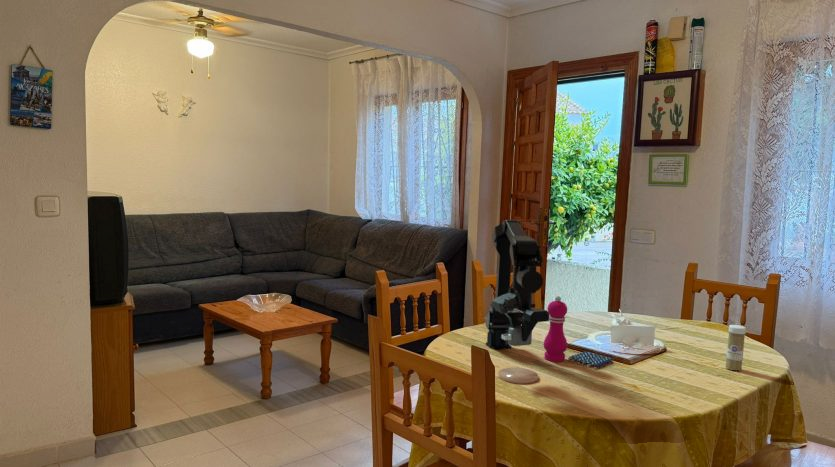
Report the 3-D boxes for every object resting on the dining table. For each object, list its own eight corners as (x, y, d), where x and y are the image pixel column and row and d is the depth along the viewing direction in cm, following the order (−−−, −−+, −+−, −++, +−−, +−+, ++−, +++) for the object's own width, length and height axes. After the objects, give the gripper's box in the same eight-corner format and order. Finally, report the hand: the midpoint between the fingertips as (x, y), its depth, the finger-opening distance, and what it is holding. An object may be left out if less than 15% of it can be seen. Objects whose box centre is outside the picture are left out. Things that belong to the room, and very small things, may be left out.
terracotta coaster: (523, 368, 176) (523, 365, 176) (545, 381, 166) (545, 378, 166) (491, 372, 171) (491, 369, 171) (512, 385, 162) (512, 382, 161)
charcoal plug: (526, 340, 171) (526, 324, 170) (534, 344, 167) (535, 328, 167) (499, 343, 167) (499, 327, 167) (506, 347, 164) (507, 331, 163)
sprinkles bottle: (726, 370, 180) (729, 327, 178) (724, 365, 184) (728, 323, 183) (743, 372, 178) (747, 328, 177) (741, 368, 182) (745, 325, 181)
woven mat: (583, 355, 191) (584, 349, 191) (614, 364, 184) (614, 358, 184) (565, 362, 184) (566, 356, 184) (597, 371, 177) (597, 365, 176)
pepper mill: (567, 357, 188) (571, 295, 186) (565, 363, 181) (569, 299, 179) (544, 354, 190) (547, 292, 188) (541, 360, 184) (544, 297, 181)
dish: (584, 349, 198) (586, 316, 197) (591, 331, 221) (593, 301, 220) (664, 360, 189) (666, 325, 188) (663, 339, 212) (665, 308, 211)
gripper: (480, 279, 171) (478, 332, 173) (516, 293, 154) (513, 351, 156) (513, 278, 175) (511, 329, 177) (552, 290, 159) (549, 347, 160)
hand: (520, 339), depth 167 cm, fingers closed on charcoal plug, 4 cm apart
